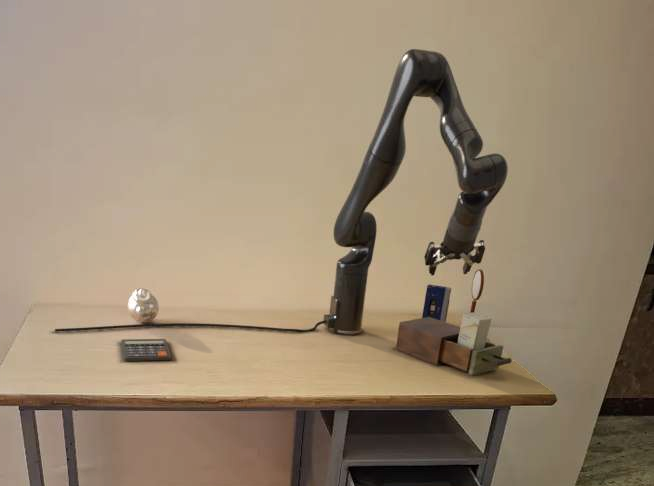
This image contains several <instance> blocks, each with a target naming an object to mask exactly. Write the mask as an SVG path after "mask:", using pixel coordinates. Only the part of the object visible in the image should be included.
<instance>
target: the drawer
mask: <svg viewBox="0 0 654 486" xmlns="http://www.w3.org/2000/svg"><path fill="white" fill-rule="evenodd" d="M458 337H459V336H455V337H450V338H445V339H443V341H442V346H441V352H440V357H439V361H441V362H444V364H447V365H450V366H451V367H454V368H456V369H459V370H462V371H464V372H468V375H471V376H475V375H478V374H482V373H486V372H489V371H493V370H494V371H495V370H497V369H499V368H500V367H502V366H506V365H509V364H511V363H512V358H510V357H507V358H505V357H502V354H503V350H504V345H503V344H497V345H496V343H494V342H490V341H487V340H486V343H485V347H484V349H480V350H475V351H473V355H472V350H473V349H470V348H468V347H465V346H462V345H459V344H457V342H458ZM471 355H472V360H471ZM470 360H471V364H470Z"/></svg>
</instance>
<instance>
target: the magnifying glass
mask: <svg viewBox="0 0 654 486" xmlns="http://www.w3.org/2000/svg"><path fill="white" fill-rule="evenodd" d="M484 284H485V274H484V271H483V269H481V268H479V269H476V271H475V272H474V275H473V278H472V283H471V297H472V301H471V306H470V311H469V313H474V312H475V311H476V307H477V301H479V300H480V298H481V297H482V293H483V290H484Z"/></svg>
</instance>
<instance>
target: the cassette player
mask: <svg viewBox="0 0 654 486" xmlns="http://www.w3.org/2000/svg"><path fill="white" fill-rule="evenodd" d="M451 293H452V288H451V287H449V286H443V285H435V284H427V286H426V291H425V298H424V303H423V311H422V314H421V318H426V317H431V318H434V319H437V320H440V321H443V322H446V323H447V318H448V311H449V307H450V299H451Z"/></svg>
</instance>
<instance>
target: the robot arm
mask: <svg viewBox="0 0 654 486" xmlns="http://www.w3.org/2000/svg"><path fill="white" fill-rule="evenodd" d="M414 97H418V98H430V99H431V100H432V101H433V102H434V104H435V105H436V106H437V107H438V110H439V113H440V114H439V115H440V116H439V134H440V137H441V139H442V141H443V144H444V146H445V147H446V149H447V151H448V152H449V154H450V156H451V159H452V161H453V165H454V170H455V175H456V181H457V185H458V188H459V189H460V192H459V195H458V196H457V199H456V202H455V205H454V208H453V211H452V213H451V215H450V217H449V221H448V224H447V226H446V230H445V233H444V236H443V240H442V242H441V243H440V244H435V242H434V241H430V242H429V243H428V245H427V247H426V248H427V249H426V251H425V253H424V256H423V258H424V264H425V266H426V267H427V266H428V273H429V275H430V276H432V277H433V276H435V273H436V271H437V268H438V266H439V265H440V264H444V263H446V262H447V261H452V260H456V261H457V260H461V259H463V261H464V263H463V266H462V273H463V275H467V274H468V273H470V271H471V269H472V266H473V265H474V264H477V265H479V264H481V263H482V260H483V257H484V255H485V252H486V247H485V246H486V245H485V240H484V239H479V241H478V242H476V241H477V238H478V235H479V233H480V231H481V228H482V224H483V219H484V217H485V214H486V211H487V209H488V207H489V205H490V204H491V203H492V202H493V200H494V199H495V198H496V197H497V195H498V194H499V192H500V191H501V189H503V187H504V185H505V183H506V180H507V178H508V162H507V160H506V158H505V157H504V156H503V155H502V154H500V153H497V152H495V153H490V154H486V155H482V156H479V155H480V154H481V152H482V151H483V147H484V140H483V138H482V136H481V134H480V133H479V131H478V129H477V128H476V126H475V124H474V122H473V121H472V119H471V118H470V115H469V114H468V111H467V110H466V108H465V105H464V103H463V100H462V98H461V95H460V91H459V89H458V86H457V83H456V80H455V78H454V74H453V71H452V69H451V66H450V64H449V61H448V60H447V58H446V57H445V55H444V54H443V53H441V52H438V51H433V50H426V49H421V48H419V49H418V48H411V49H409V50H407V51H405V53H404V54H403V55H402V57H401V58H400V60H399V63H398V64H397V67H396V70H395V72H394V75H393V78H392V82H391V86H390V89H389V92H388V95H387V98H386V102H385V105H384V108H383V111H382V114H381V116H380V119H379V121H378V124H377V126H376V129H375V132H374V135H373V137H372V139H371V141H370V143H369V146H368V147H367V150H366V153H365V155H364V157H363V161H362V164H361V166H360V169H359V171H358V173H357V176H356V178H355V180H354V183H353V185H352V187H351V190H350V191H349V193H348V195H347V197H346V199H345V202H344V203H343V205H342V207H341V208H340V211H339V212H338V215H337V216H336V218H335V222H334V226H333V240H334V242H335V244H336V245H337V246H338V247H341V248H351V249H350V250H349V252H348V253H346V254H345V255H344V256H342V257H340V258H338V260H337V262H336V267H335V277H334V286H333V295H331V296H330V305H329V314H323V320H321V321H319V322H317V323H315V325H314V327H312V328H309V329H297V328H280V327H270V326H267V327H266V326H258V325H257V326H256V325H240V324H223V323H222V324H221V323H195V322H193V323H190V322H189V323H188V322H186V323H185V322H184V323H183V322H182V323H181V322H180V323H179V322H178V323H173V322H172V323H171V322H170V323H141V324H140V323H139V324H122V325H104V326H91V327H69V328H54V332H55V333H58V332H78V331H95V330H96V331H97V330H113V329H114V330H115V329H129V328H149V327H213V328H214V327H215V328H216V327H217V328H219V327H220V328H233V329H234V328H236V329H237V328H238V329H254V330H264V331H265V330H266V331H278V332H296V333H305V332H306V333H307V332H314V331H315V330H317V328H318V327H319V326H320V325H322V324H323V325H324V326H325V327H326V328H327V329H329V330H330V331H331V332H332V333H333V334H339V335H347V336H350V335H358V334H361V333H362V330H363V329H362V327H363V318H364V309H365V300H366V292H367V285H368V277H369V268H370V266H371V264H372V261H373V256H374V251H375V250H374V249H375V245H376V239H377V231H378V229H377V220H376V217H375V215H374V214H373V213H372V212H370V211H366V210H367V208H368V206H369V205H370V204H371V202H373V201H374V200H375V199H376V198H377V197H378V196H379V195H380V194H381V193H382V192H383V191H384V190H386V188H388V187H389V185H390V184H391V183H392V182H393V180H394V179H395V177H396V176H397V174H398V171H399V170H400V167H401V165H402V164H403V163H402V162H403V161H404V158H405V155H406V151H407V143H406V132H405V117H406V114H407V111H408V108H409V107H410V104H411V102H412V100H413V98H414ZM474 250H475V253H474V255H473V254H472V253H471V252H473V251H474Z"/></svg>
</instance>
